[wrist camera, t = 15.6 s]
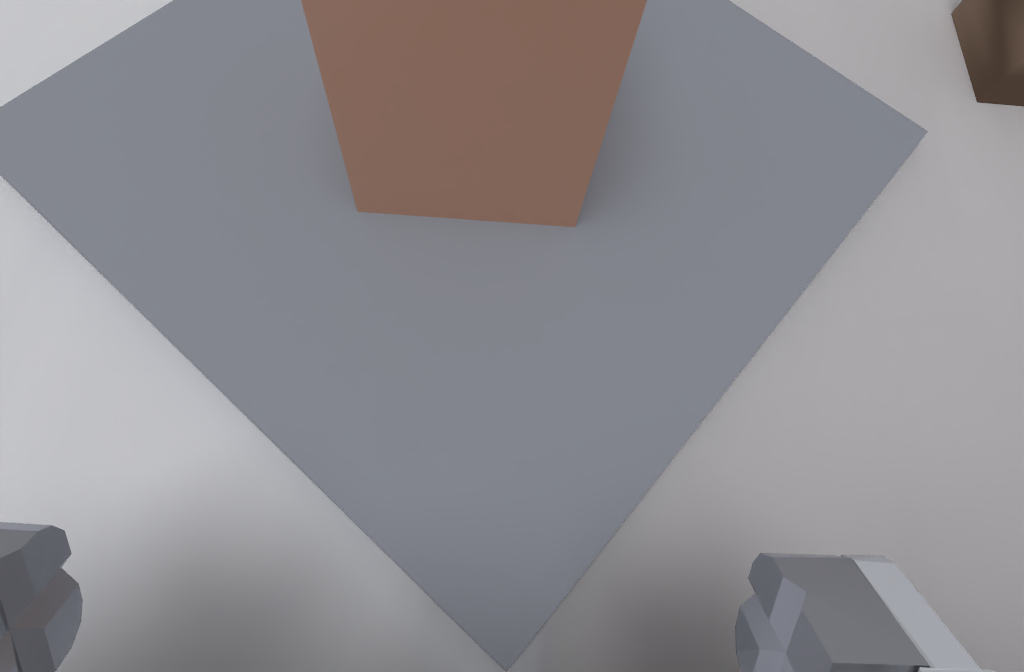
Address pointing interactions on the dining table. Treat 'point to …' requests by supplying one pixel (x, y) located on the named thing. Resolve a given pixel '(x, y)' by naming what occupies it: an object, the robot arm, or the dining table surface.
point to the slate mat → (458, 275)
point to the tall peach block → (472, 101)
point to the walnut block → (993, 48)
